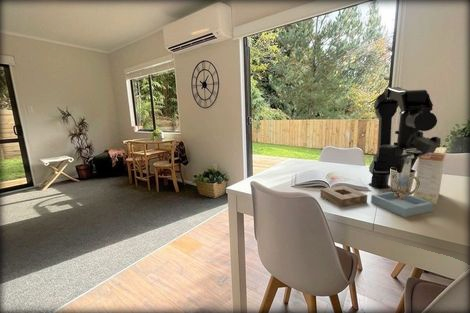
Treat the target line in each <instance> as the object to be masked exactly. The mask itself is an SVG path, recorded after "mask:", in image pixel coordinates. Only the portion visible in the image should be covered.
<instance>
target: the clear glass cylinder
mask: <svg viewBox="0 0 470 313" xmlns="http://www.w3.org/2000/svg"><path fill="white" fill-rule="evenodd" d="M405 155H409V156H408V157H407V158H405V159H404V163H403V168H402V171H401V173H398V172H397V177H396V180H395V185H397V186H401V187H408V186H409V183H410V174H411V170H412V169H411V162H412V159H413V158H414V156H415V154H412V153H405ZM410 169H411V170H410Z"/></svg>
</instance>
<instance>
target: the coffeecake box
mask: <svg viewBox="0 0 470 313" xmlns="http://www.w3.org/2000/svg"><path fill="white" fill-rule="evenodd" d="M446 152H447V147H445V146H444V147H443V146H440V148H436V150H435V151H434V153H427V154H425V155H422V156H420V157H418V163H417V170H416V171H417V172H416V177H417V178H418V179H419V181H420V186H419V188H418V190H417V191H416V192H414V193H413V196H415V197H418V198H421V199H424V200H426V201H429V202H432V203H434V204H433V206H434V205H437V203H438V200H439V196H440V192H441V186H442V185H441V184H442V179H443V172H444V165H445V160H446V159H445V158H446ZM421 153H422V152H421ZM416 186H417V181H416V180H415V186H414V189H415V188H416Z"/></svg>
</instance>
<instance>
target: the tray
mask: <svg viewBox="0 0 470 313" xmlns="http://www.w3.org/2000/svg"><path fill="white" fill-rule="evenodd" d="M393 196H394V193H393V192H392V191H387V192H382V193H381V192H380V193H375V194H371V199H370V203H371V204H374V205H376V206H378V207H381V208H383V209H386V210H387V211H390V212H392V213H394V214H397V215H399V216H400V217H403V218H407V217H411V216H416V215H421V214H425V213H430V212H433V211H434V203H432V202H429V201H426V200H424V199H421V198H418V197H415V196H414V195H411V194H409V195H406V197H405V200H401V199H396V198H393Z"/></svg>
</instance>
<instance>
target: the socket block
mask: <svg viewBox="0 0 470 313" xmlns="http://www.w3.org/2000/svg"><path fill="white" fill-rule="evenodd" d="M320 195H321V196H320V197H322V196H323V197H322V198H324V199H325V198H326V200H327V199H328V201H329V202H331V203H333V204H335V205H337V206H338V207H340V208H344V207H349V206H354V205H359V204H365V203H368V194H366V193H364V192H360V191H359V190H357V189H354V188H351V187H349V186H347V185H339V186H331V187H330V186H329V187H326V188H320Z"/></svg>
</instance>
